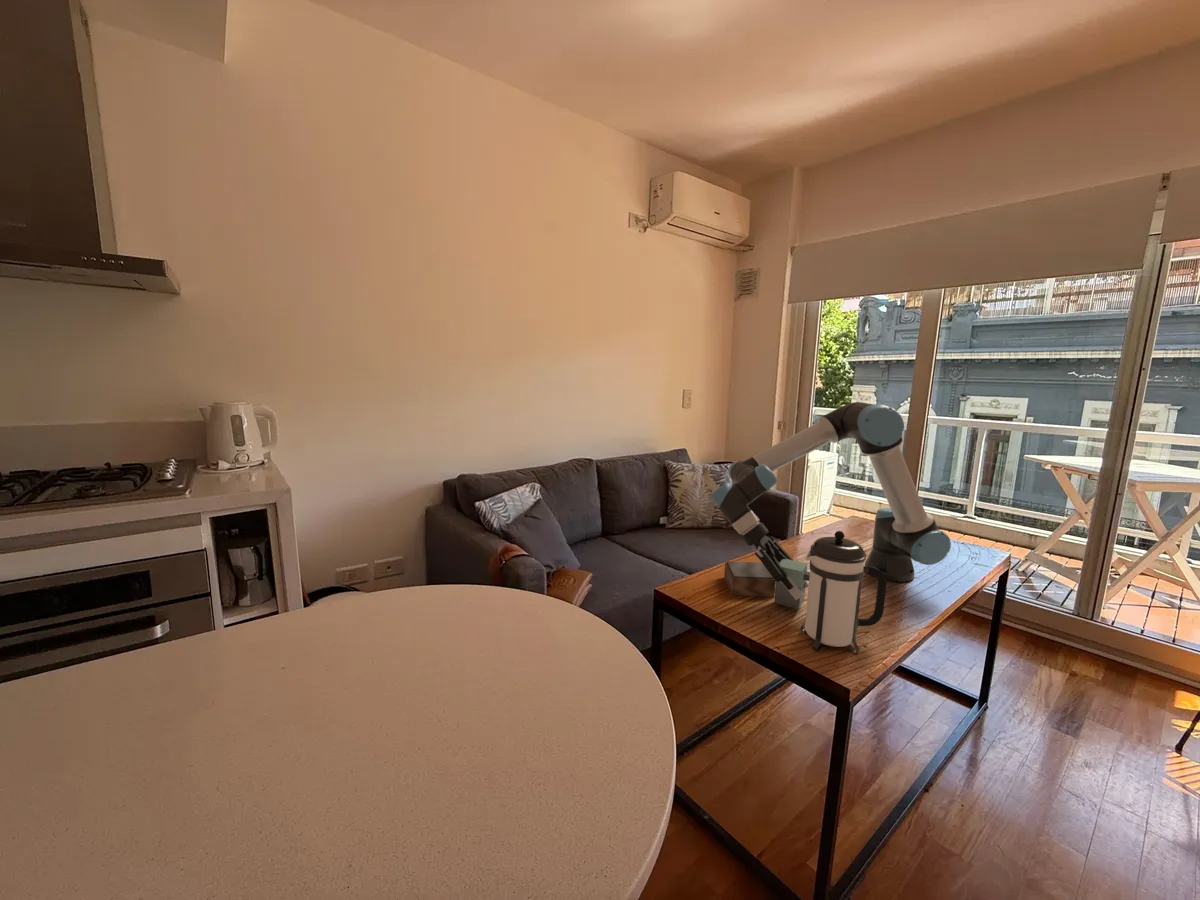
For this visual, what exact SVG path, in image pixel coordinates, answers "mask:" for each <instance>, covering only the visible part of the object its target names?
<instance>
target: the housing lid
mask: <svg viewBox="0 0 1200 900" xmlns="http://www.w3.org/2000/svg"><path fill="white" fill-rule="evenodd" d="M779 564H780V566H781V568H782V569H783V571H784V572H785V574H786V576H789V577H790V578H791V579H792V580H793V582H794V583H795V584H796V585H797V587H799V588H801V587H802V586H803V584H804V582H805V581H807V582H809V577H810V571H808V563H806V562H803V561H798V560H794V559H793V560H789V559H782V560H781V562H780V563H779ZM778 583H782V582H781V581H780V582H778Z"/></svg>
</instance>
